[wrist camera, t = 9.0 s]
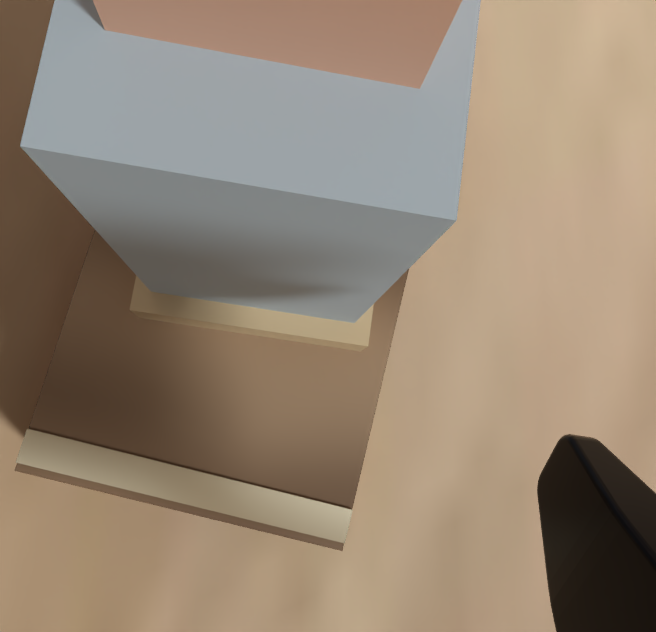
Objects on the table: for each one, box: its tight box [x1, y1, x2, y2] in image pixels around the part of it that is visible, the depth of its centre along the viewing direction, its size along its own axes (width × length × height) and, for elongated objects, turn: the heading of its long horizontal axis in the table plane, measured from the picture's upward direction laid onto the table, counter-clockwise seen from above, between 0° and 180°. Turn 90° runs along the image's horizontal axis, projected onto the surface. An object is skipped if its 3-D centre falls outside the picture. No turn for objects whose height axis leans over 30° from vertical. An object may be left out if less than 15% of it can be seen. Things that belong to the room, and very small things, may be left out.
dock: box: [15, 230, 409, 551], centre depth 17 cm, size 14×8×3 cm, turn 166°
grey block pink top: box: [20, 0, 481, 351], centre depth 11 cm, size 9×6×12 cm, turn 172°
